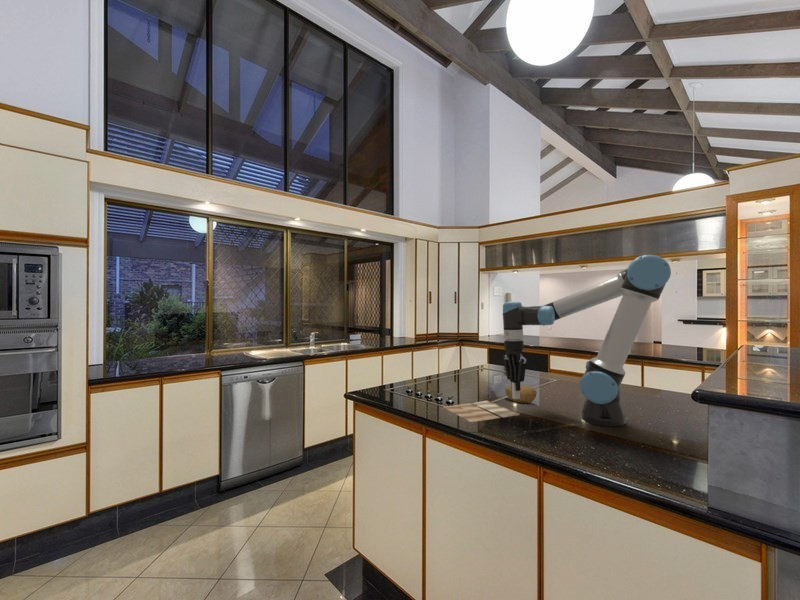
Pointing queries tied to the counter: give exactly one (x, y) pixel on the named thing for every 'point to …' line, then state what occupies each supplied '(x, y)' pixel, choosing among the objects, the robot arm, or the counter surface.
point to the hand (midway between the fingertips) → (516, 398)
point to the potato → (522, 394)
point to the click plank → (496, 409)
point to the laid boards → (471, 412)
